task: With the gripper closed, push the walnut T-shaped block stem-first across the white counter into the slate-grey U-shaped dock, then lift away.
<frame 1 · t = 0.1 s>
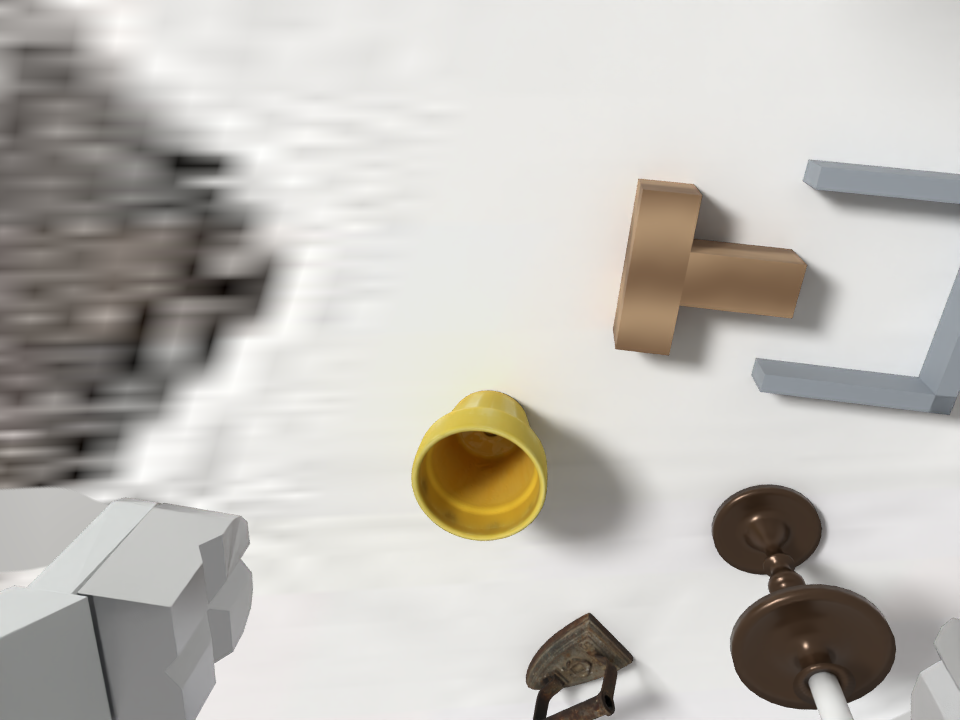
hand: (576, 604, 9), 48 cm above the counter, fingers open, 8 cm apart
candlestick: (763, 526, 64), on the counter
plant pot: (491, 421, 63), on the counter
clothes iron: (567, 655, 73), on the counter
t block: (677, 263, 55), on the counter
dock: (866, 284, 54), on the counter
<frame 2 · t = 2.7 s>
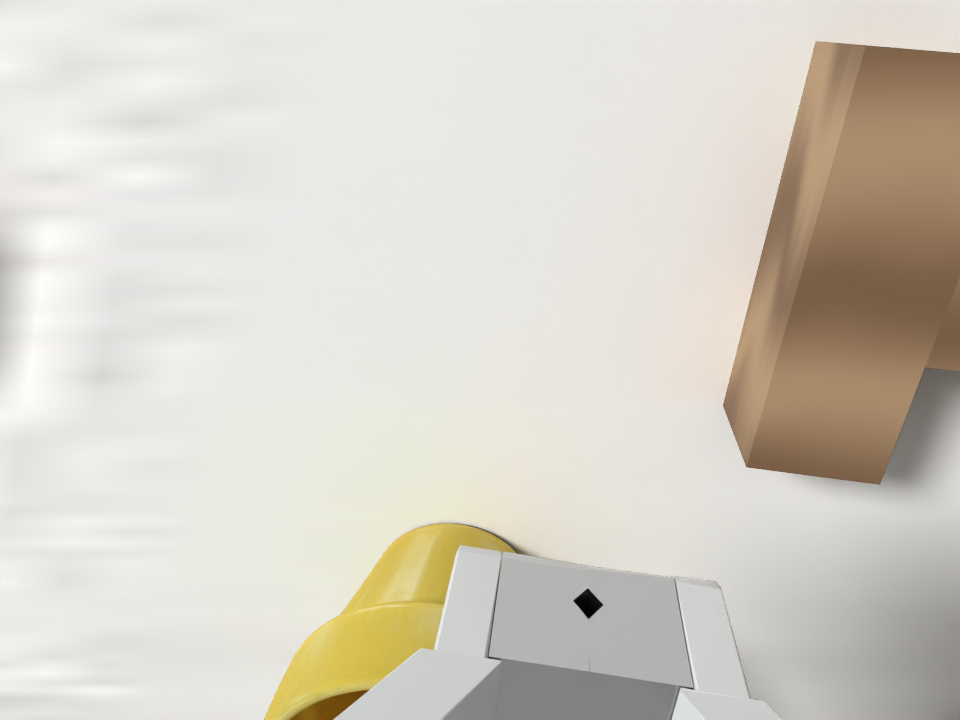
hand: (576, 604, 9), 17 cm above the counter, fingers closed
plant pot: (459, 578, 31), on the counter
t block: (892, 257, 23), on the counter
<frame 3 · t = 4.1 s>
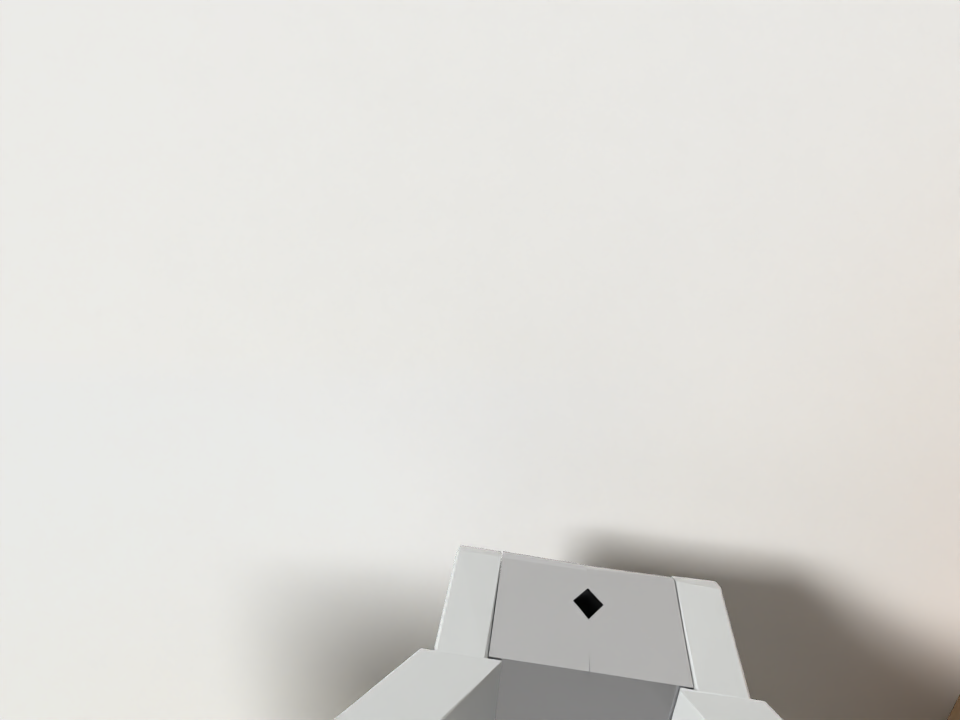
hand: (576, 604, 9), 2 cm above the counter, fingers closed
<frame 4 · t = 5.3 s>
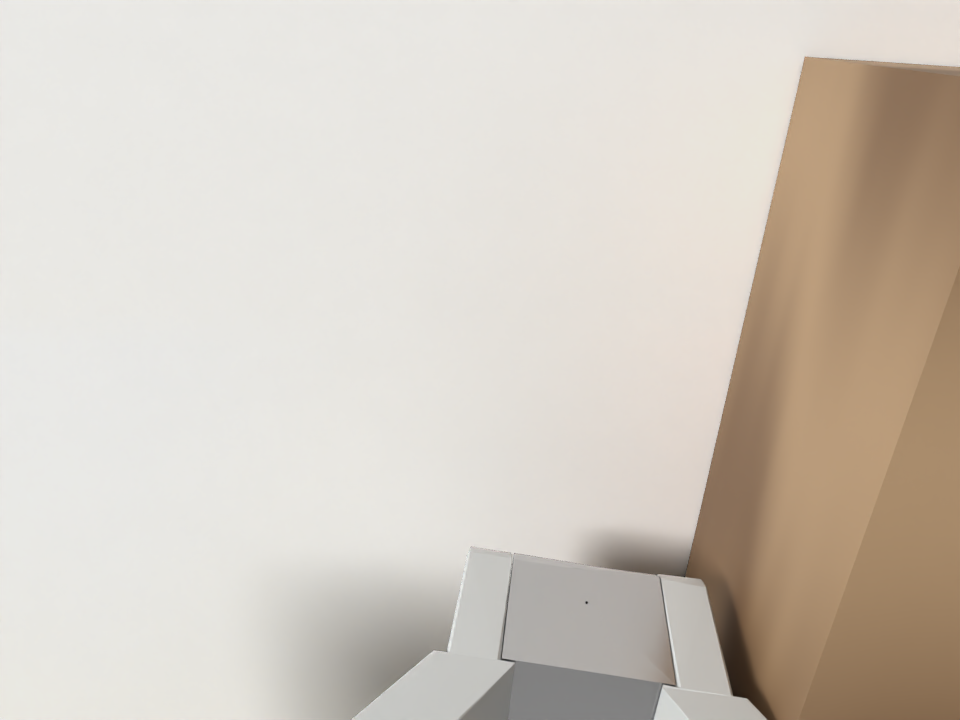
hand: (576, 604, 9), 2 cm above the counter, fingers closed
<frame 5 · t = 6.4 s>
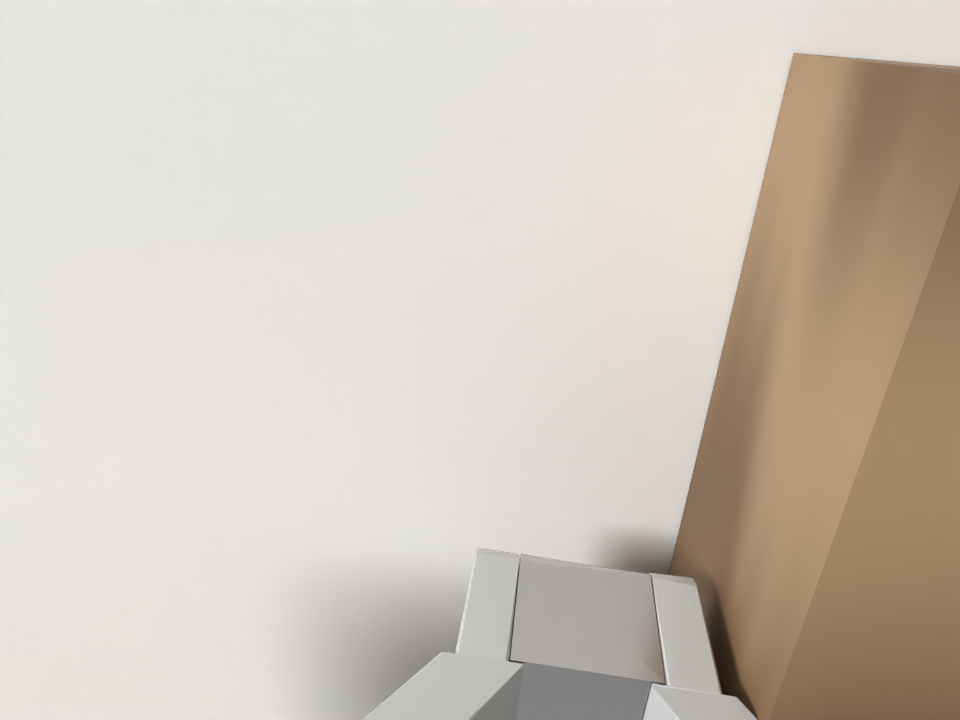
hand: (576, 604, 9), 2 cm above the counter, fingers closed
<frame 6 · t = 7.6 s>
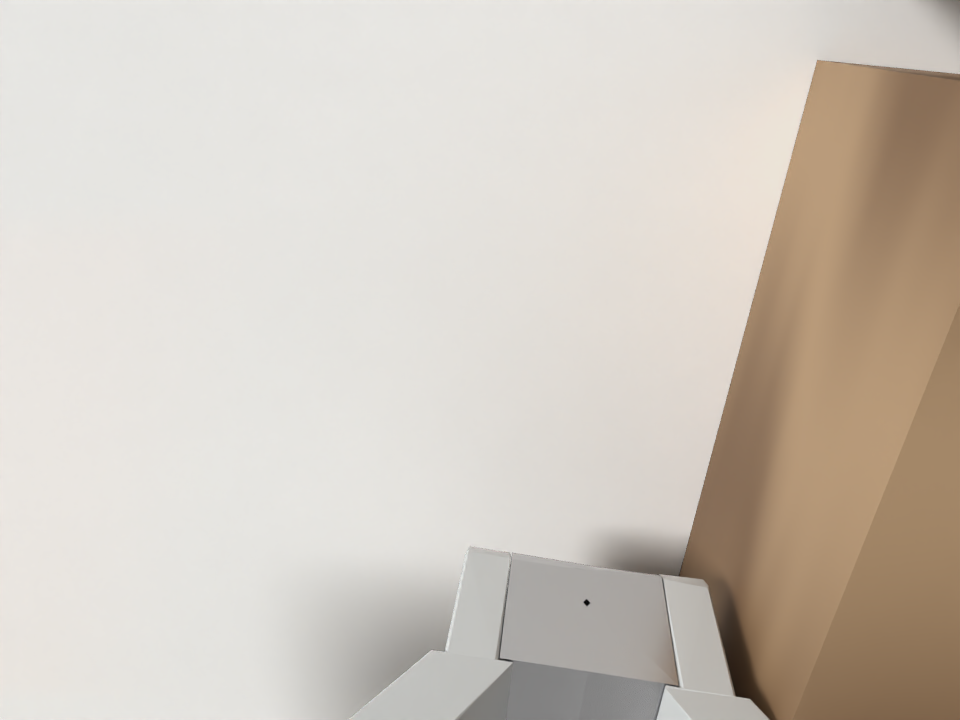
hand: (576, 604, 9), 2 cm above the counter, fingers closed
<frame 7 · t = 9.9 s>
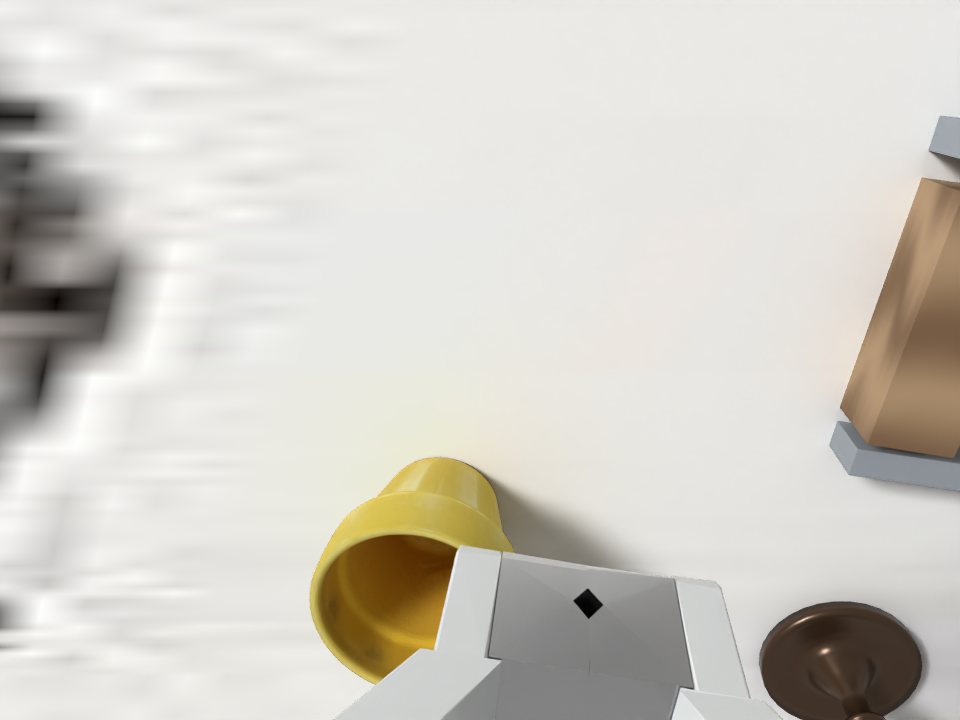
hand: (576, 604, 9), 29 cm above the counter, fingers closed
candlestick: (834, 657, 45), on the counter
plant pot: (445, 500, 44), on the counter
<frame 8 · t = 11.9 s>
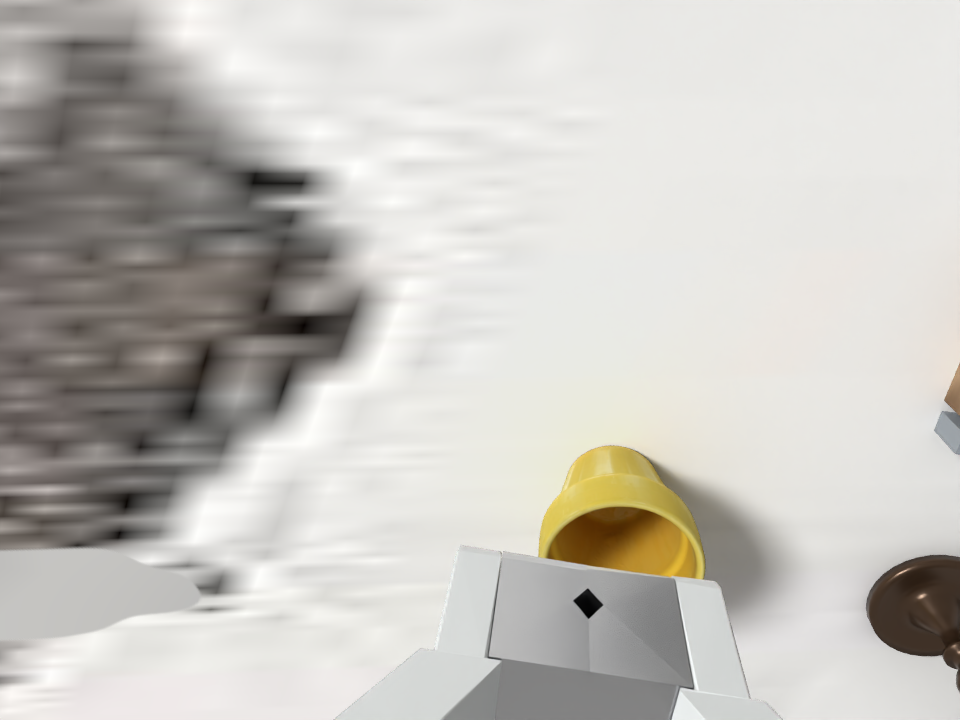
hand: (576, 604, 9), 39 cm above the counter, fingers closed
candlestick: (928, 600, 55), on the counter
plant pot: (613, 480, 54), on the counter
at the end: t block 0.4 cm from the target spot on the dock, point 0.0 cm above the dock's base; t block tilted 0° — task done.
